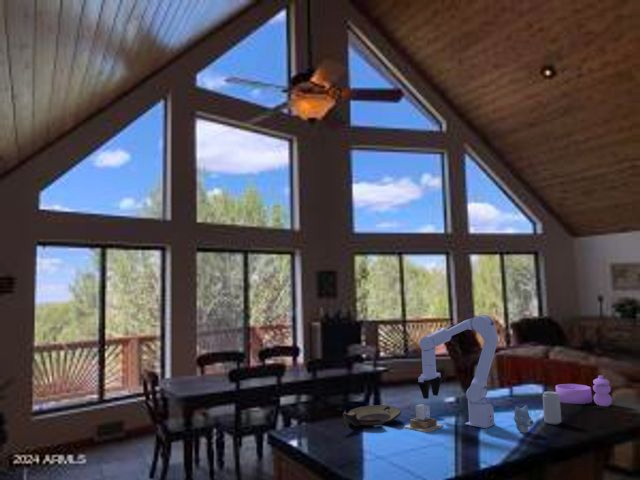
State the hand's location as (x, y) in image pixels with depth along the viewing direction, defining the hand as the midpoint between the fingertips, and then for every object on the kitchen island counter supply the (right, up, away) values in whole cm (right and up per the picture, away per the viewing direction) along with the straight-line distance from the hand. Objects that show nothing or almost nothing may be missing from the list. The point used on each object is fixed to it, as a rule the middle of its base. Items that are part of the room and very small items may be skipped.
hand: (430, 396), depth 227 cm
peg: (-6, -8, -12) cm, 16 cm away
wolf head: (+31, -6, -26) cm, 41 cm away
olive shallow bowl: (-27, -10, -4) cm, 29 cm away
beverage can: (+47, -7, -12) cm, 49 cm away
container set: (+76, -9, +22) cm, 80 cm away
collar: (-5, -9, -13) cm, 16 cm away
